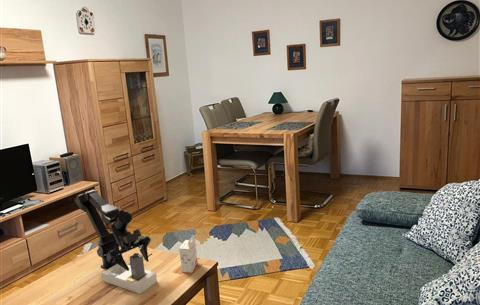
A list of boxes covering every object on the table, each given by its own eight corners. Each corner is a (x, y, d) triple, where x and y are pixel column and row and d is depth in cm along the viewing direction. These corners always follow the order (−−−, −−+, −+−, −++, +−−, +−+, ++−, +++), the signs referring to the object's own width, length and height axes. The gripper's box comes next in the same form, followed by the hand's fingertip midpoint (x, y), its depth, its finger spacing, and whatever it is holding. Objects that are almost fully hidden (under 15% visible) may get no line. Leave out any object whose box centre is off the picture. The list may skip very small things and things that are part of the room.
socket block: (103, 281, 170) (101, 272, 169) (120, 270, 178) (119, 261, 177) (140, 293, 159) (138, 284, 158) (157, 281, 167) (155, 272, 166)
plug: (133, 284, 166) (128, 254, 162) (141, 280, 168) (137, 250, 165) (137, 288, 163) (133, 257, 160) (146, 283, 166) (142, 253, 162)
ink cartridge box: (187, 262, 181) (184, 233, 178) (197, 263, 180) (195, 233, 177) (181, 272, 173) (178, 242, 169) (192, 273, 172) (188, 242, 168)
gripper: (105, 233, 156) (123, 267, 151) (146, 218, 169) (163, 249, 164) (99, 245, 163) (116, 278, 158) (138, 230, 176) (155, 260, 171)
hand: (138, 266), depth 163 cm, fingers open, 9 cm apart
